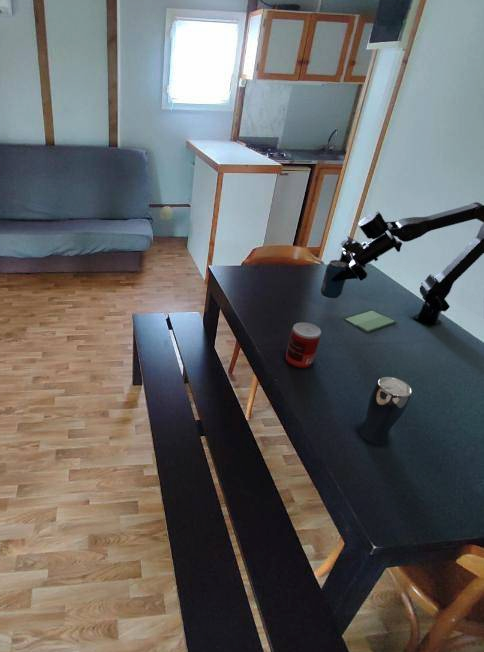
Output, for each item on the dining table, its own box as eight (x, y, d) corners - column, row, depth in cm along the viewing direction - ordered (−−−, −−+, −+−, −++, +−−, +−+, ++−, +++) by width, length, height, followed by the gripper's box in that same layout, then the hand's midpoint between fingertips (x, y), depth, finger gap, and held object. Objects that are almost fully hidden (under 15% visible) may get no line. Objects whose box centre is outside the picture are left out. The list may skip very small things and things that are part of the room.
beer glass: (351, 425, 99) (370, 376, 91) (378, 423, 99) (400, 375, 91) (366, 447, 93) (389, 397, 85) (395, 445, 94) (420, 396, 85)
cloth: (371, 311, 147) (372, 309, 147) (394, 322, 140) (395, 321, 140) (344, 319, 142) (345, 318, 141) (367, 332, 135) (367, 330, 135)
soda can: (344, 296, 145) (354, 264, 138) (332, 301, 142) (341, 268, 135) (327, 288, 150) (336, 257, 143) (315, 293, 146) (323, 262, 140)
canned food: (312, 356, 123) (321, 324, 117) (312, 371, 117) (321, 339, 111) (285, 350, 125) (293, 320, 119) (284, 365, 119) (292, 333, 113)
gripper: (356, 221, 139) (314, 249, 148) (367, 239, 124) (320, 269, 132) (374, 245, 142) (332, 271, 150) (386, 266, 127) (339, 294, 135)
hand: (330, 276), depth 142 cm, fingers closed on soda can, 7 cm apart
